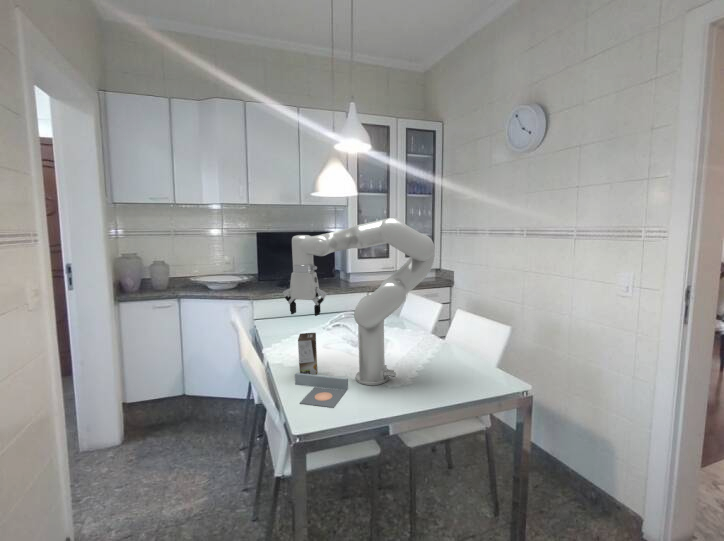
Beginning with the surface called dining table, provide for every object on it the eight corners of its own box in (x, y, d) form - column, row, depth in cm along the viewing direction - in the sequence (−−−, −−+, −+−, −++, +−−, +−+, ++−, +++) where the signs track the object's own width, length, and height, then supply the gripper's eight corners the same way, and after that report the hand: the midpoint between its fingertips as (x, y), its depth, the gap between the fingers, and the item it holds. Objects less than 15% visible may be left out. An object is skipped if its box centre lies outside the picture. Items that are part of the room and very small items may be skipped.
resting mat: (346, 391, 135) (346, 390, 135) (333, 408, 123) (333, 406, 123) (314, 387, 138) (314, 386, 138) (299, 403, 127) (299, 402, 127)
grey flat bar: (348, 388, 137) (347, 378, 136) (346, 390, 136) (346, 379, 135) (296, 383, 143) (296, 372, 142) (295, 384, 141) (294, 374, 141)
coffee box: (317, 381, 144) (315, 339, 142) (299, 382, 143) (297, 340, 141) (317, 371, 153) (316, 332, 151) (301, 372, 152) (299, 333, 150)
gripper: (329, 268, 143) (330, 313, 146) (287, 267, 148) (289, 310, 151) (321, 271, 136) (322, 318, 139) (277, 269, 141) (279, 315, 144)
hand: (305, 314), depth 145 cm, fingers open, 9 cm apart
